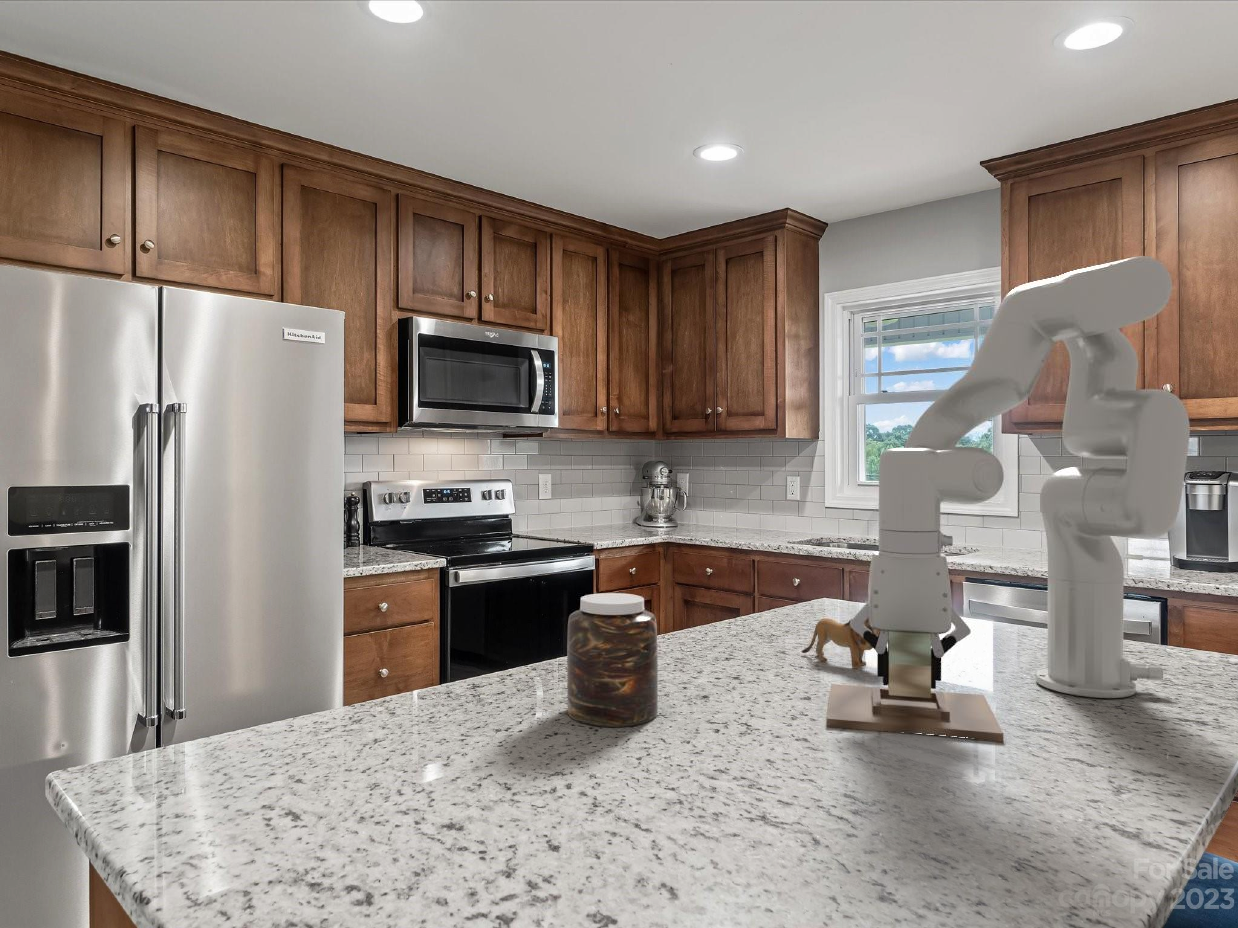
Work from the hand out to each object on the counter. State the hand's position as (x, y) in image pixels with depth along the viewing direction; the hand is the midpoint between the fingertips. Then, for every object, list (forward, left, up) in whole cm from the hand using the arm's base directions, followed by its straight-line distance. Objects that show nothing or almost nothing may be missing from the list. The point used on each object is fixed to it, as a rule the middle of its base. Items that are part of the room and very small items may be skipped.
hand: (908, 682), depth 107 cm
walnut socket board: (0, 0, -4) cm, 4 cm away
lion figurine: (+8, -25, -4) cm, 27 cm away
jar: (+37, +10, -4) cm, 39 cm away
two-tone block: (0, 0, -1) cm, 1 cm away
